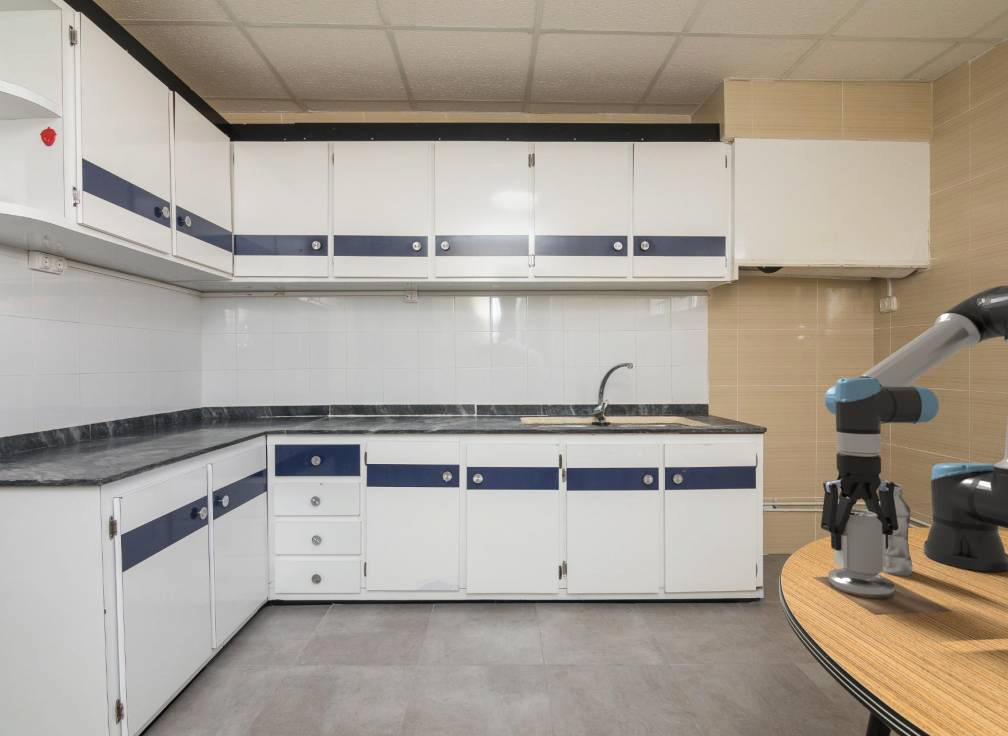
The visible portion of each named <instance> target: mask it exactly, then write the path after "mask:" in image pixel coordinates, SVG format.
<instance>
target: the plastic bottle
mask: <svg viewBox="0 0 1008 736" xmlns="http://www.w3.org/2000/svg"><path fill="white" fill-rule="evenodd" d="M894 484H895V487H894V493H893V495H894V501H895V508H896V515H897V521H898V530H892V531H893V534H892V535H888V549H886V567H883V571H882V572H883V573H886V574H889V575H892V576H893V575H894V576H904V577H905V576H911V575H912V572H913V567H914V566H913V561H912V557H911V554H910V553H911V552H910V547H909V545H910V544H909V526H910V520H911V512H912V511H911V509H910V506H909V505H908V503H907V502H906V501H905V500H904V498H903V497H902V496H903V495H904V492H903V485H901V484H897V483H894ZM879 500H880V499H879ZM879 504H880V502H879ZM882 572H881V573H882Z"/></svg>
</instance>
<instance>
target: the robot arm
mask: <svg viewBox="0 0 1008 736" xmlns="http://www.w3.org/2000/svg"><path fill="white" fill-rule="evenodd" d="M1001 337H1003V338H1004V339H1003V342H1004V343H1005V344H1006V345H1007V346H1008V285H1000V286H995V287H990V288H987V289H984V290H982V291H980V292H978V293H975V294H974V295H972V296H970V297H968V298H966V299H964V300H962V301H961V302H959V303H957V304H956V305H954V306H953V307H951V308H950V309H948V310H946V311H945V312H943V313H942V314H941V315H939V316H938V317H937V318H936V319H935V322H934V325H933V326H931V327H930V328H928V329H927V330H925V331H924V332H922V333H921V334H919V335H918V336H917V337H915V338H914V339H912V340H911V341H910V342H908V343H906V344H905V345H903V346H902V347H900V349H898V350H896V351H895V352H893V353H892V354H891V355H889V356H887V357H886V358H885V359H883V360H881V361H880V362H879V363H877V364H876V365H874V366H873V367H872V368H870V369H869V370H867V371H866V372H864V373H863V374H861V375H860V376H859V377H843V378H839V379H838V380H837V381H836V383H835V385H832V386H831V387H829V388H828V390H827V391H826V393H825V394H824V401H823V402H824V405H825V407H826V409H827V410H828V412H830V413H831V414H832V415H834V416H835V429H836V430H835V434H836V435H835V436H836V437H835V438H836V439H835V440H836V442H835V443H836V444H835V445H836V450H837V451H838V452H837V453H836V457H835V458H836V459H835V460H836V470H837V472H838V476H837V477H836V480H834V481H827V480H825V481H823V483H822V485H823V490H824V496H823V505H822V515H821V521H820V528H821V529H823V530H824V531H826V532H829V533H830V546H831V548H832V549H833V550H834V552H833V554H834V555H833V557H834V558H833V559H834V564H835V565H837V566H838V567H841V569H843V568H848V563H847V536H846V535H844V534H843V532H844V529H845V527H846V524H847V521H848V518H849V516H850V513H851V510H852V509H853V507H854V505H857V501H860V500H863V502H864V503H865V504H864V505H865V506H866V509H867V511H870V512H873V513H876V514H877V515H878V517H877V518H878V519H879V520H880V521H881V523H882V552H883V567H886V549H888V535H892V534H893V531H892V530H898V521H897V515H896V508H895V501H894V495H893V493H894V487H895V484H896V483H895V482H893V481H888V480H886V479H881V478H880V474H881V473H882V457H881V456H880V455H879V454H880V453H881V452H882V442H881V441H882V440H881V437H882V435H881V431H882V429H881V428H882V425H883V424H913V425H914V424H916V425H917V424H918V423H919V424H920V423H927V422H930V421H932V420H933V419H934V418H936V416H937V415H938V412H939V410H940V409H939V405H940V404H939V398H938V397H937V395H936V394H935V392H933V391H932V390H931V389H930V388H927V387H924V386H915V385H914V386H913V385H912V383H913V382H915V381H917V380H918V379H920V378H921V377H923V376H924V375H926V374H927V373H928V372H930V371H932V370H933V369H934V368H936V367H937V366H939V365H940V364H942V363H944V362H945V361H947V359H948V358H950V357H952V356H953V355H955V354H956V353H957V352H959V351H961V350H962V349H971V348H973V347H975V346H976V345H977V344H979V343H981V342H983V341H985V340H986V341H987V340H990V339H995V338H1001ZM1006 421H1007V422H1006V431H1005V433H1006V434H1005V445H1004V446H1005V447H1004V457H1003V458H1002V460H999V462H997V463H994V464H993V463H988V462H987V463H985V462H984V463H983V462H943V463H942V462H941V463H937V464H935V465H934V466H933V467H932V468H931V469H932V470H931V478H930V485H931V486H930V487H931V490H930V491H931V509H932V524H931V526H930V529H929V532H928V535H927V539H926V540H925V541H924V542H923V543H924V544H923V554H924V555H925V556H926V557H927V558H929V559H932V560H934V561H936V562H939V563H941V564H944V565H948V566H951V567H956V568H960V569H967V570H971V571H972V570H973V571H977V572H978V571H979V572H993V573H995V572H1004V571H1005V572H1006V571H1007V570H1008V553H1007V552H1006V550H1005V547H1004V544H1003V541H1002V539H1001V538H1002V537H1000V534H999V533H1000V532H999V527H1001V528H1003V529H1004V528H1005V529H1008V417H1007V420H1006ZM877 491H878V492H877ZM839 492H840V493H839ZM879 499H880V500H879ZM879 502H880V504H879Z"/></svg>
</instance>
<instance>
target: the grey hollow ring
mask: <svg viewBox="0 0 1008 736" xmlns="http://www.w3.org/2000/svg"><path fill="white" fill-rule="evenodd" d="M880 575H881V574H878V575H876V576H861V575H856V574H852V573H849V572H847V571H845V570H844V569H843V568H835V569H832V570H830V571H829V572H828V577H829V584H830V586H832V587H833V588H834V589H836V590H838V591H840V592H842V593H845V594H848V595H851V596H855V597H859V598H865V599H873V600H886V599H890V598H893V597H894V583H893V582H894V581H893V580H891V579H889V578H887V577H885V576H883V575H881V576H880ZM890 580H891V581H890ZM892 581H893V582H892Z"/></svg>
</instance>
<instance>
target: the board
mask: <svg viewBox="0 0 1008 736" xmlns="http://www.w3.org/2000/svg"><path fill="white" fill-rule="evenodd" d="M879 575H880V576H882V575H881V574H879ZM812 578H813V579H815V580H816V581H818V582H820V584H821V583H822V584H823V585H824V586H826V587H828V588H829V589H831V590H833V591H834V592H836V593H838V594H840V595H841V596H842V597H845V598H846V599H848V600H850V601H852V602H853V603H855V604H856V605H858V606H860V607H861V608H864V609H865V610H866V611H868V612H870V613H872V614H873V615H875V616H876V615H877V616H880V615H881V616H882V615H898V614H899V615H901V614H920V613H921V614H922V613H923V614H924V613H942V612H944V613H945V612H953V610H951V609H950V608H947V607H946V606H943V605H941V604H939V603H937V602H935V601H933V600H931V599H930V598H927V597H925V596H923V595H921V594H919V593H917V592H915V591H913V590H911V589H909V588H907V587H905V586H903V585H902V584H899V583H897V582H895V581H893V580H891V579H889V580H890V581H892V582H893V583H894V597H893V598H890V599H886V600H873V599H865V598H859V597H855V596H851V595H848V594H845V593H842V592H840V591H838V590H836V589H834V588H833V587H832V586H830V584H829V576H813V577H812Z"/></svg>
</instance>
